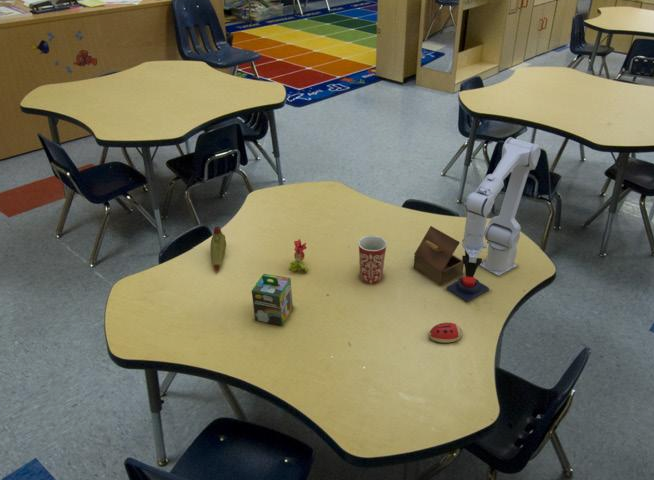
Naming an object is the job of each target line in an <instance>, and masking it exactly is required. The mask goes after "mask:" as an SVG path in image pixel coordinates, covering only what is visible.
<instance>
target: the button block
mask: <svg viewBox="0 0 654 480" xmlns="http://www.w3.org/2000/svg"><path fill="white" fill-rule="evenodd" d="M463 277H464V276H460V277H459V278H458V279H457V281H454V282H453V283H451V284H449V285H447V286H446V290H447V291H448V292H450V293H452V294H453V295H454V296H456V297H458V298H459V299H461V300H462V301H464V302H465V303H469V302H471V301H473V300H475V299H476V298H479V297H480V296H483V295H484V294H486V293H488V292H489V290H490V288H489V286H487V285H485V284H483V283H481V282H480V281H479V280H478V279H477V278H475V279H476V282H475V286H474V287H466V286H464V285H463V284H462V280H463Z"/></svg>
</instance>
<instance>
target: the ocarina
mask: <svg viewBox="0 0 654 480" xmlns="http://www.w3.org/2000/svg"><path fill="white" fill-rule="evenodd" d="M226 249H227V240H226V235H225V234H224V233H223V231H222V230H221V227H220V226H215V227H214V228H213V234H212V236H211V240H210V249H209V250H210V256H211V258H210V259H211V262H212V267H213V269H214V271H215V272H218V271H219V270H220V269H221V267H222V263H223V260H224V259H225V258H224V257H225V255H226Z"/></svg>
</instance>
